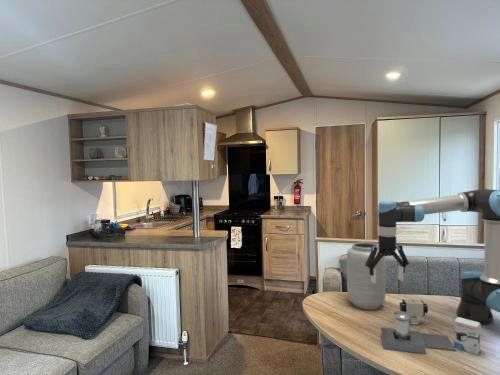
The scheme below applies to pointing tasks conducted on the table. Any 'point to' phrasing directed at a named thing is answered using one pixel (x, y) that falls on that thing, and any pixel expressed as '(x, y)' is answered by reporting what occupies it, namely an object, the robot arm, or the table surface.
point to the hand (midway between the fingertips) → (387, 281)
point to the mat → (437, 342)
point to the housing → (403, 341)
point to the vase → (364, 277)
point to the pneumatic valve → (414, 309)
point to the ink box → (467, 335)
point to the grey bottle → (402, 325)
